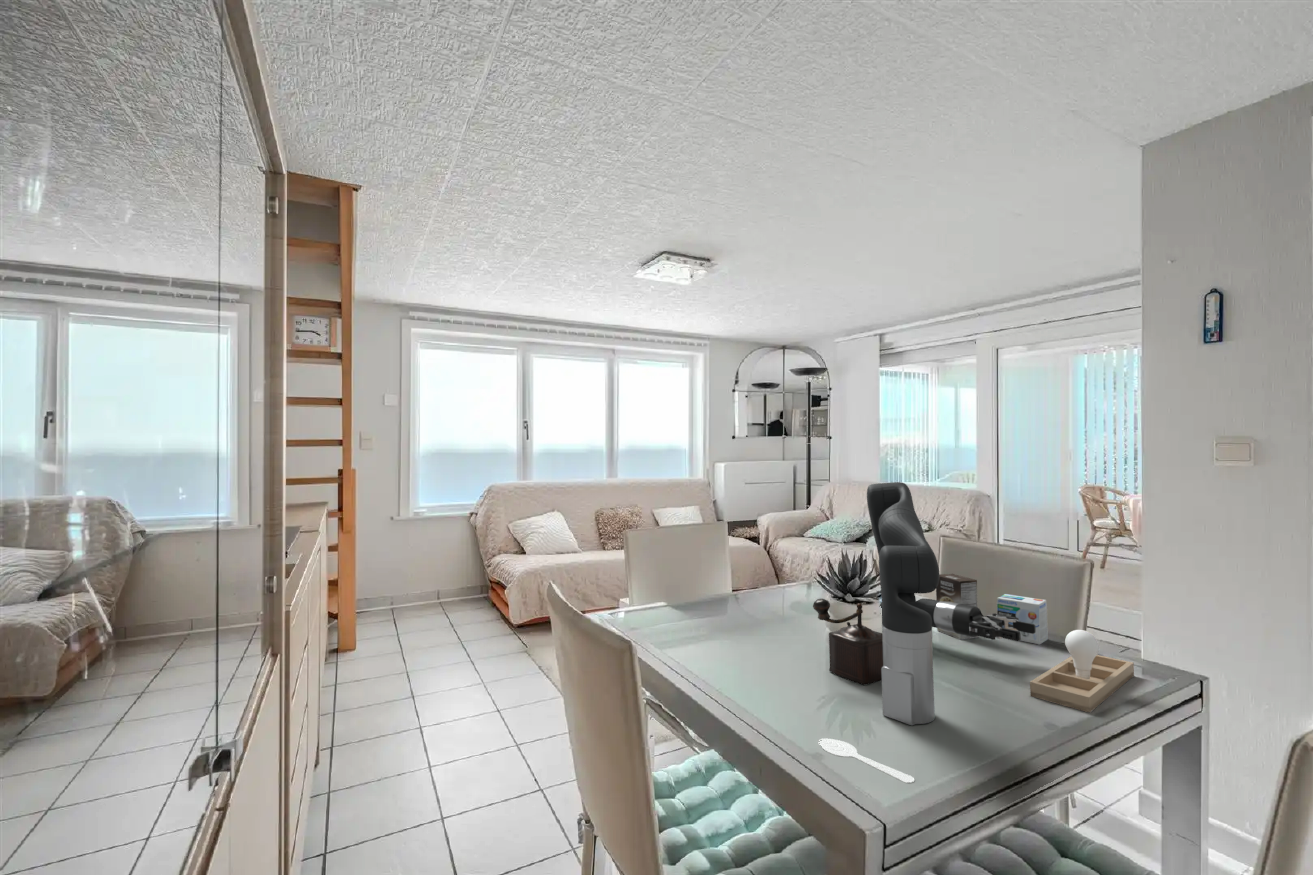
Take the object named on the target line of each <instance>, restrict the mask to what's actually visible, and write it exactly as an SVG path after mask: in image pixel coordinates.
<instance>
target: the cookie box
mask: <svg viewBox="0 0 1313 875" xmlns="http://www.w3.org/2000/svg"><path fill="white" fill-rule="evenodd" d="M939 574H940V573H939ZM935 592H936V593H935V595H936V596H935V598H936V599H935V600H938V601H945V602H954V603H959V604H965V605H970V606H975V607H978V579H973V578H969V577H966V576H964V575H963V576H962V575H959V574H955V573H942V574H940V577H939V583H938V586H937V588H936V589H935ZM936 629H937V632H940V633H942V634H944V635H948V636H950V637H953V638H955V639H958V640H961V641H962V640H970V639H977V638H979V636H977V637H970V636H966V635H961V634H957V633H952V632H948V631H945V630H942V629H939V628H936Z"/></svg>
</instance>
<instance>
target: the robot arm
mask: <svg viewBox="0 0 1313 875" xmlns="http://www.w3.org/2000/svg"><path fill="white" fill-rule="evenodd" d="M866 489H867V490H866V501H867V503H866V504H867V509H868V515H869V519H870V524H871V529H872V533H873V538H874V541H875V545H876V546H875V547H876V549H877V553H878V571H879V572H878V574H879V583H880V584H879V585H880V593H881V594H880V596H881V602H880V604H879V607H880V606H881V608H882V615H881V631H882V632H881V633H882V642H883V667H882V668H881V672H882V680H881V698H882V699H881V700H882V701H881V702H882V703H881V704H882V716H885V717H887V718H890V719H893V720H896V721H898V722H901V723H903V724H906V725H909V726H914V725H922V724H929V723H931V722H933V721H934V720H935V718H936V715H935V714H936V713H935V712H936V711H935V710H936V708H935V681H934V680H935V679H934V655H933V654H934V650H933V644H934V643H933V628H936V629H937V628H939V629H942V630H945V631H948V632H952V633H957V634H961V635H966V636H970V637H977V636H978V637H981V638H984V639H985V638H986V639H988V640H992V641H993V640H996V639H999V640H1001V639H1004V640H1005V639H1006V640H1010V641H1014V642H1020V640H1021V634H1020V632H1019V631H1021V632H1026V633H1031V634H1034V633H1035V632H1036V626H1035V625H1034V624H1031V623H1026V622H1021V621H1019V618H1017V617H1011V616H1005V615H1000V614H997V613H992V614H987V615H983V613H982V611H981V609H980V608H979V607H978V606H977V607H975V606H970V605H965V604H959V603H954V602H945V601H938V600H936V599H931V598H920V599H918V600H917V598H916V594H930V593H932V592H934V591H936V588H937V586H938V583H939V577H940V568H939V567H940V566H939V564H938V559H937V557H936V554H935V553H934V550H933V548H932V547H931V545H930V544H929V542H928V541H927V539H926V537H925V534H924V530H923V527H922V524H921V520H920V519H919V517H918V515H917V513H916V511H915V505H914V501H913V496H912V493H911V489H910V488H909V487H908V485H907V484H906V483H905V482H902V481H901V482H900V481H894V482H893V481H891V482H883V483H880V482H879V483H878V482H877V483H873V484H872V483H871V484H869V485H868V487H867V488H866ZM1008 622H1013V625H1012V624H1009V623H1008ZM1003 626H1004V627H1003Z"/></svg>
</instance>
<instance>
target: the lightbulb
mask: <svg viewBox="0 0 1313 875" xmlns="http://www.w3.org/2000/svg"><path fill="white" fill-rule="evenodd" d="M1064 644H1065V647H1066V649H1067V651H1068V653H1069V654H1070V656H1072V658H1073V662H1074V667H1075V671H1076V677H1080V678H1084V679H1090V670H1091V669H1092V662H1093V660H1094V658H1095V657H1096V655H1098V653H1099V651H1100V643H1099V641H1098V639H1097V638H1096V636H1095V635H1094V634H1093V633H1091V632H1090V631H1087V630H1083V629H1074V630H1072V631H1070V632H1069V633H1067V635H1066V636H1065V640H1064Z"/></svg>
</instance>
